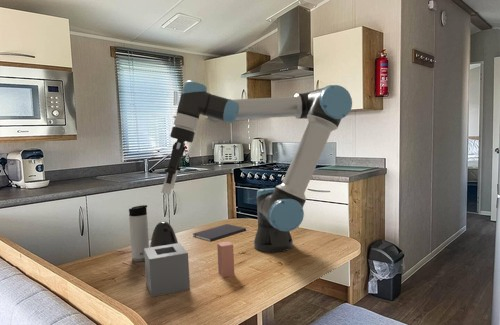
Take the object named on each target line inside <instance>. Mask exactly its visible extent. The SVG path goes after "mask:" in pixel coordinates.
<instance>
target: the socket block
mask: <svg viewBox="0 0 500 325" xmlns="http://www.w3.org/2000/svg"><path fill="white" fill-rule="evenodd" d="M144 255H145V261H144V267H145V282H146V286H147V289H148V292H149V294H150V296H151V298H154V297H159V295H160V296H164V294H165V295H169V294H174V293H179V292H184V291H189V290H190V289H191V287H190V286H191V284H190V281H191V280H190V266H189V252H188V251H187V250H186V249H185V248H184V246H183V245H182V243H180V242H178V243H176V244H170V245H163V246H157V247H150V246H149V248H144Z"/></svg>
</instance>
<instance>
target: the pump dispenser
mask: <svg viewBox="0 0 500 325" xmlns="http://www.w3.org/2000/svg"><path fill="white" fill-rule="evenodd" d="M176 243H179V242H178V238H177V236H176V232H175V230H174V228H173V226H172V225H171V223H169V222H168V221H160V222H158V223H157V224H156V226H155V227H154V229H153V232H152V236H151V240H150V243H149V248H150V247H157V246H163V245H170V244H176Z"/></svg>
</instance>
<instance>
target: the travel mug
mask: <svg viewBox="0 0 500 325" xmlns="http://www.w3.org/2000/svg"><path fill="white" fill-rule="evenodd" d="M147 208H148V205H147V204H144V205H138V206H137V205H136V206H133V207H131V208H129V209H128V213H129V215H128V216H129V218H128V219H129V220H128V221H129V232H130V234H129V235H130V248H131V249H130V250H131V260H132V261H133V262H138V263H139V262H145V255H144V248H150V241H149V240H150V239H149V228H148V212H147V210H148V209H147Z"/></svg>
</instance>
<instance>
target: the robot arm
mask: <svg viewBox="0 0 500 325" xmlns="http://www.w3.org/2000/svg"><path fill="white" fill-rule="evenodd" d="M207 90H208V87H207V85H204V84H203V83H200V82H198V81H197V82H196V81H193V80H187V81H185V82H184V85H183V87H182V91H181V94H180V97H179V102H178V105H177V109H176V112H175V114H176V115H173V119H174V122H173V125H174V126H172V128H171V131H170V132H171V133H170V135H169V137H170V138H172V139H176V141H175V142H174V143H173V145H172V150H171V154H170V155H171V156H170V159H169V160H170V161H169V163H168V165H167V168H165V169H164V173H165V177H164V181H163V183H162V184H163V185H162V189H161V191H160V192H161V193H163V194H167V195H171V192H172V190H174V188H175V184H176V181H177V177H178V173H179V172H181V169H182V168H181V167H180V165H181V161H182V158H183V157H184V154H185V153H184V152H186V146H185V145H186V144H185V142H187V143H193V141H194V138H195V134H196V133H195V131H196V130H197V129H198V128H197V127H198V124H199V120H200V115H202V116H205V117H207V119H208V120H210V121H212V122H221V121H222V122H224V123H230V124H233V123H235V121H236V120H237V121H239V120H255V119H272V118H273V119H274V118H286V117H287V118H289V117H291V118H292V117H294V118H295V119H297V120H299V119H307V120H308V123H307V125H306V128H305V130H304V132H303V135H302V137H301V139H300V141H299V143H298V146H297V148H296V151H295V153H294V155H293V158H292V160H291V162H290V164H289V166H288V169H287V171H286V173H285V175H284V178H283V180H282V182H281V184H278V185H276V186H275V187H270V188H260V189H258V190H257V191H256V208H257V212H256V213H257V229H256V233H255V236H254V241H253V244H254V245H253V247H254V249H255V250H258V251H261V252H266V253H279V252H285V251H288V250H290V249H292V248H293V247H294V244H293V242H294V240H293V237H292V234H291V233H290V232H291V231H294V230H296V229H297V228H298V227H299V226H300V225H301V224H302V222H303V220H304V216H305V213H304V212H305V211H304V205H305V203H306V201H307V197H306V195H305V192H306V190H307V187H308V185H309V183H310V182H311V179H312V176H313V174H314V171H315V170H316V167H317V165H318V162H319V160H320V159H321V158H320V157H321V156H322V153H323V151H324V150H325V146H326V144H327V142H328V139H329V138H330V135H331V132H333V131H336V130H337V129H338V127H339V126H340V124H341V121H342V119H345V117H347V116H348V115H349V114H350V112H351V111H352V108H353V98H352V96H351V94H350V92H349V91H348V90H347V89H346V87H344V86H341V85H338V84H330V85H326V86H324V87H321V88H316V89H314V90H311V91H308V92H304V93H303V92H302V93H295V94H294V96H280V97H262V98H261V97H259V98H237V99H231V98H226V97H222V96H219V95H216V94H212V93H210V92H207Z"/></svg>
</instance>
